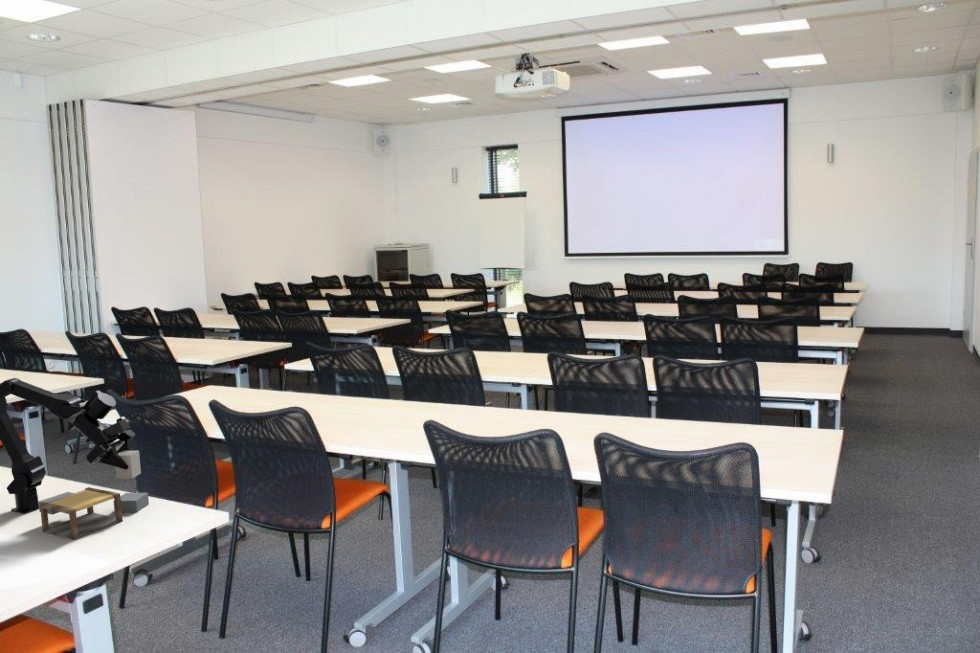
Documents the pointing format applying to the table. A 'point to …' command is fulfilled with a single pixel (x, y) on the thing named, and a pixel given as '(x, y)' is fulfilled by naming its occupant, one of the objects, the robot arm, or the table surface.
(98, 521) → the frame
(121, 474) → the grey upright block
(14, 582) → the table surface
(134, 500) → the plinth
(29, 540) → the table surface
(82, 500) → the trapdoor
